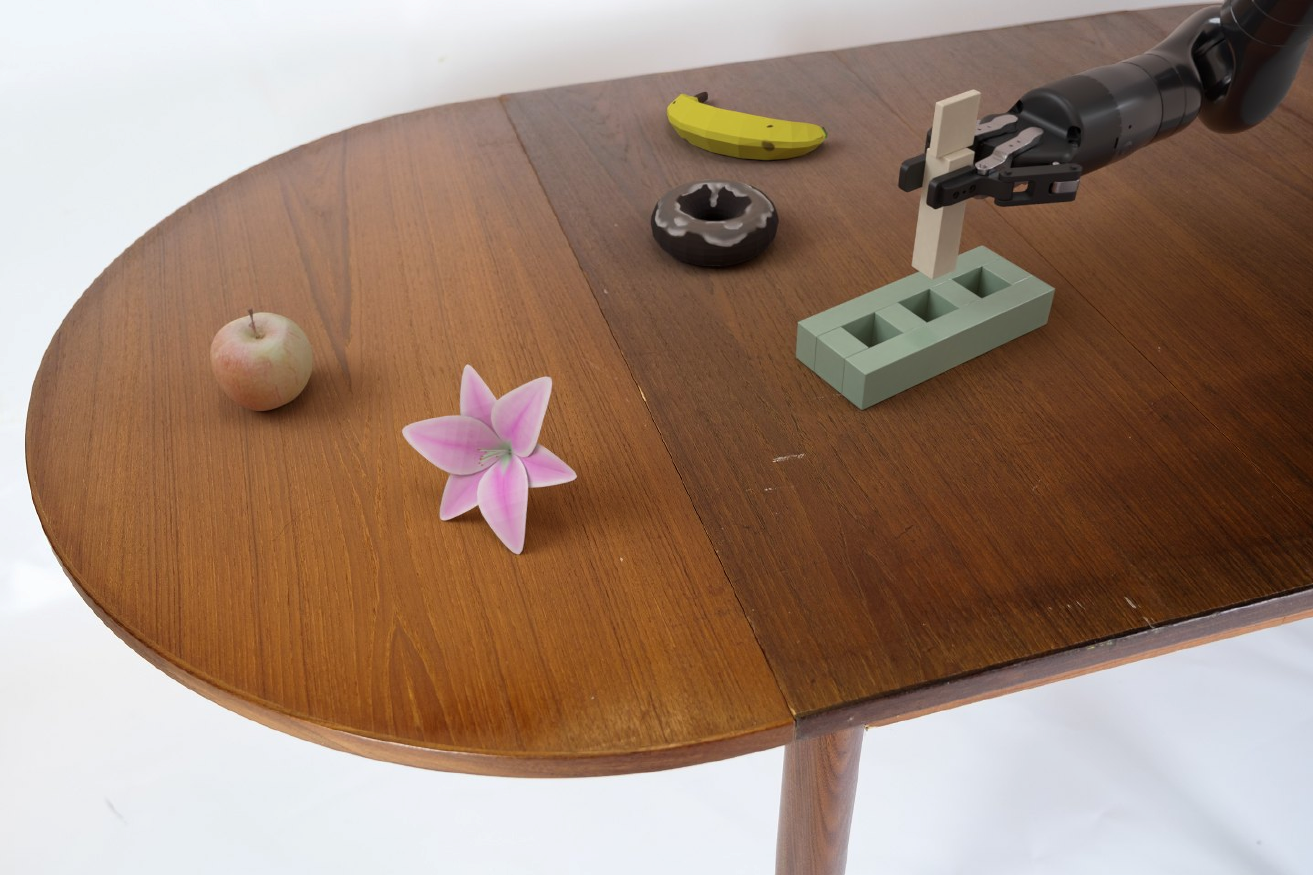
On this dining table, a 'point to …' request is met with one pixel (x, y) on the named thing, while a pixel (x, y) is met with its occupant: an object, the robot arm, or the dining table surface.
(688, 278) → the dining table surface
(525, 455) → the lily
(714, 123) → the banana
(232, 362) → the fruit
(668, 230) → the donut
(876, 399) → the caddy
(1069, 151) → the robot arm
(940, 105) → the cream offset-tab post
